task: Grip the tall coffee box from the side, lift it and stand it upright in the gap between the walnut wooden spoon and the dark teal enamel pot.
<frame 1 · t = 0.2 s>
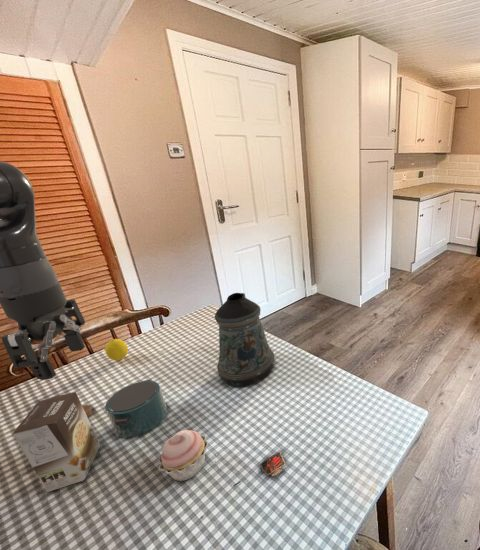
hand: (64, 363, 58), 26 cm above the table, tool pointing down, fingers open, 8 cm apart
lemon: (120, 360, 100), on the table
coffee box: (76, 467, 66), on the table
cupcake: (189, 468, 65), on the table
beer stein: (246, 367, 96), on the table
wooden spoon: (66, 432, 74), on the table
enamel pot: (142, 419, 77), on the table
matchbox: (274, 465, 66), on the table
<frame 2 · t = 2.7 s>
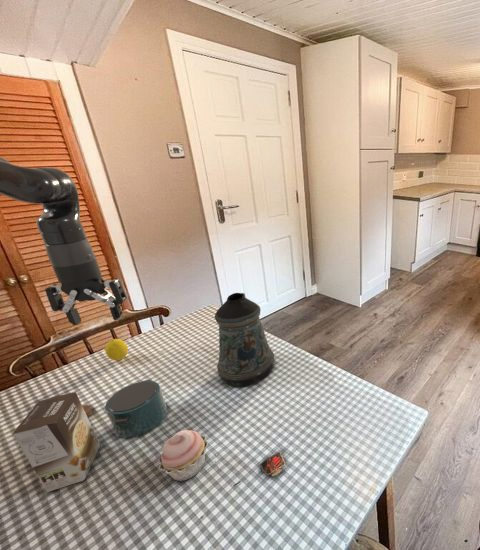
hand: (97, 321, 75), 24 cm above the table, tool pointing down, fingers open, 8 cm apart
nothing on the table moved.
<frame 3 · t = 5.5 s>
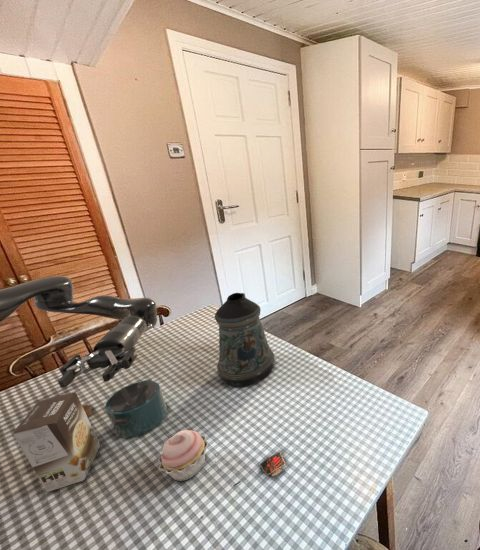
hand: (83, 381, 70), 14 cm above the table, tool horizontal, fingers open, 8 cm apart
nothing on the table moved.
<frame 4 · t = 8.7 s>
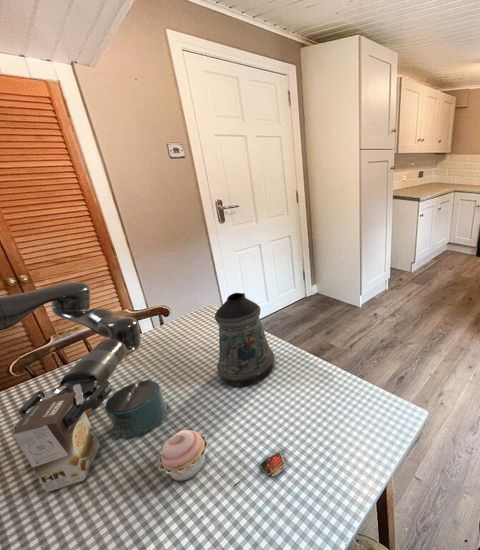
hand: (42, 427, 58), 14 cm above the table, tool horizontal, fingers closed on coffee box, 7 cm apart
coffee box: (76, 467, 66), on the table, touching gripper
everything else where it was.
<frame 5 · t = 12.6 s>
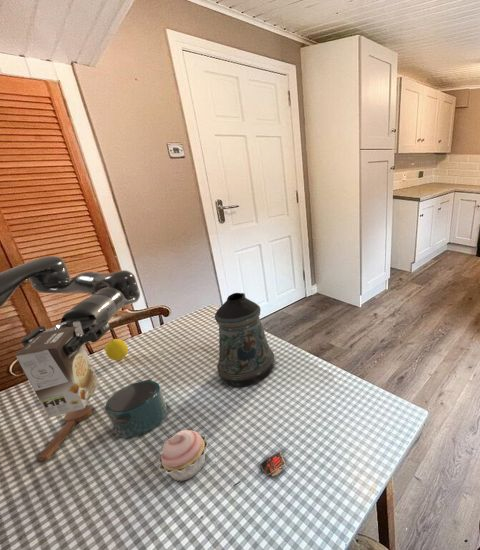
hand: (43, 354, 62), 25 cm above the table, tool horizontal, fingers closed on coffee box, 7 cm apart
coffee box: (76, 399, 69), point 11 cm above the table, touching gripper
everything else where it was.
when the fingers open (14 cm above the table, at t = 16.5 s): coffee box stays where it is, on the table.
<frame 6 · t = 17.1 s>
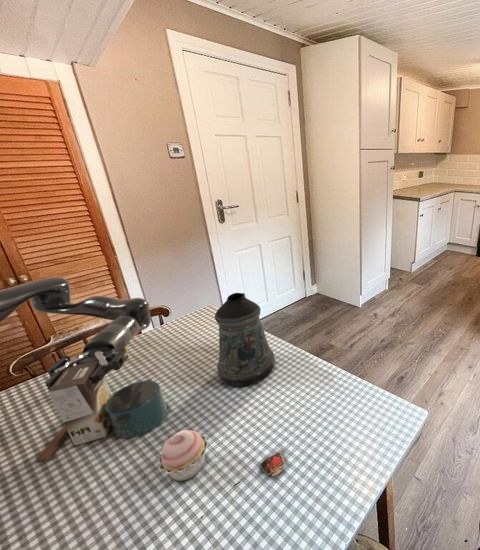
hand: (71, 383, 68), 15 cm above the table, tool horizontal, fingers open, 8 cm apart
coffee box: (98, 427, 75), on the table
everything else where it was.
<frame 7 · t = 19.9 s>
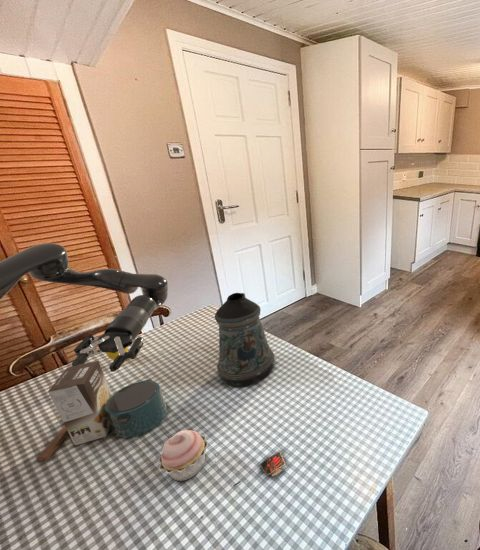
hand: (93, 369, 78), 12 cm above the table, tool horizontal, fingers open, 8 cm apart
nothing on the table moved.
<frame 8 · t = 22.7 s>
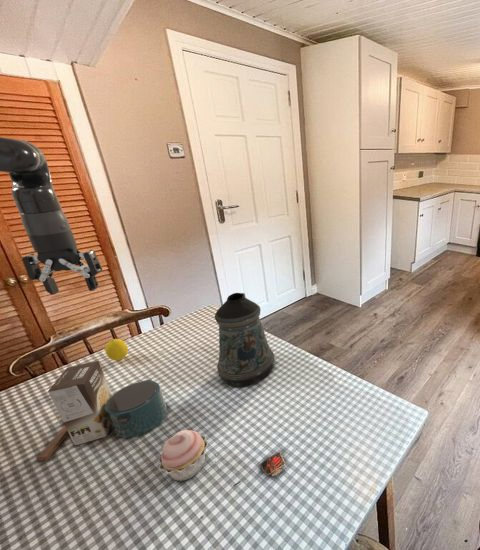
hand: (74, 291, 78), 30 cm above the table, tool pointing down, fingers open, 8 cm apart
nothing on the table moved.
at the end: coffee box inside the target area (0.1 cm from its centre), on the table; coffee box tilted 0°; the gripper is holding nothing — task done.
